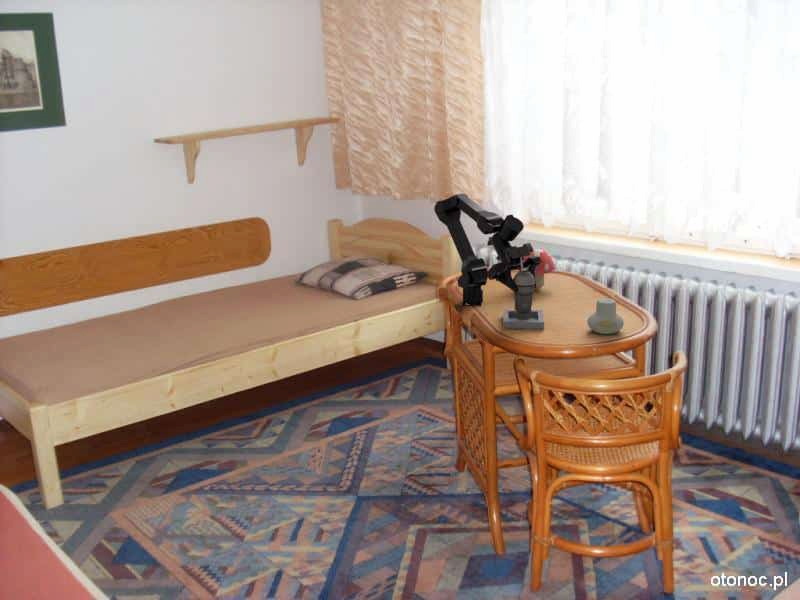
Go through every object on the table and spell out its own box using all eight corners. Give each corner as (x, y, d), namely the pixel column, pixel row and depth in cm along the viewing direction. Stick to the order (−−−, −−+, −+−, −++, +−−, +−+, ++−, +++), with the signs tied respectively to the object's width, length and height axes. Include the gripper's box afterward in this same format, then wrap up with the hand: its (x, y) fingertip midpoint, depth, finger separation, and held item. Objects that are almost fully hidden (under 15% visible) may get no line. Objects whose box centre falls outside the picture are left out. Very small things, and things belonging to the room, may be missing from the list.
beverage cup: (527, 323, 277) (529, 261, 271) (507, 319, 281) (508, 258, 275) (538, 316, 283) (540, 256, 277) (517, 313, 287) (519, 253, 281)
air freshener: (622, 328, 276) (623, 297, 273) (624, 336, 268) (625, 305, 265) (586, 326, 277) (587, 296, 274) (587, 335, 270) (588, 304, 267)
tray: (503, 329, 277) (503, 321, 276) (503, 316, 289) (503, 309, 288) (543, 329, 275) (544, 322, 275) (542, 317, 287) (542, 310, 287)
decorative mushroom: (551, 296, 310) (552, 254, 305) (513, 294, 313) (514, 253, 309) (555, 285, 322) (556, 245, 318) (518, 284, 325) (519, 244, 321)
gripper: (493, 239, 272) (515, 281, 267) (539, 231, 282) (561, 272, 276) (477, 258, 281) (498, 300, 275) (522, 250, 290) (543, 290, 285)
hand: (526, 290), depth 278 cm, fingers closed on beverage cup, 7 cm apart
